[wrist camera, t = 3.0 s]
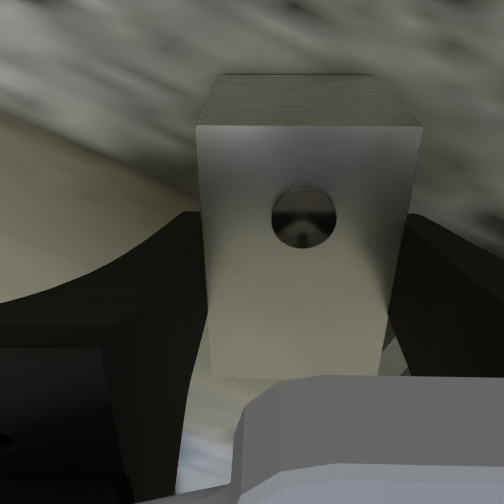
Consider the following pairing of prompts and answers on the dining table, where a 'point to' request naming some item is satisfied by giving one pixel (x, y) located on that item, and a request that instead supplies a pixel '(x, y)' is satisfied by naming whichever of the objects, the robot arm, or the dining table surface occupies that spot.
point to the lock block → (302, 221)
